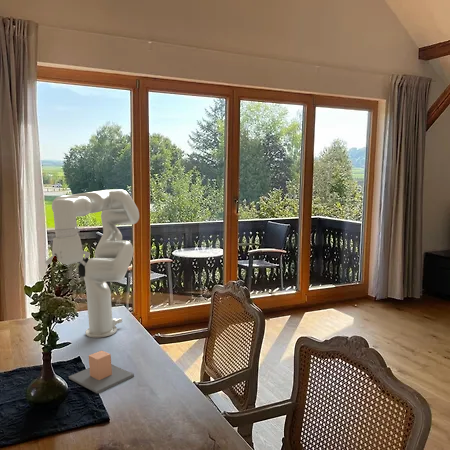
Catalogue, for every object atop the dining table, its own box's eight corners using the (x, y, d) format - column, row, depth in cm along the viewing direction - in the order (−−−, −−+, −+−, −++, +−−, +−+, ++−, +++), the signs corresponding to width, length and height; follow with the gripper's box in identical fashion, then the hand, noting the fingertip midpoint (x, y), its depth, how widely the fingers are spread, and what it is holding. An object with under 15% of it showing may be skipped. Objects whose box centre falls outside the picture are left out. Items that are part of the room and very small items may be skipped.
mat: (105, 363, 158) (105, 361, 158) (133, 376, 148) (133, 373, 148) (68, 378, 148) (68, 376, 148) (97, 393, 137) (97, 391, 137)
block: (103, 370, 151) (101, 350, 150) (112, 374, 148) (110, 354, 147) (90, 375, 147) (88, 355, 146) (98, 380, 144) (97, 359, 143)
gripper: (81, 228, 171) (85, 272, 173) (38, 235, 158) (42, 283, 160) (93, 230, 166) (96, 275, 169) (49, 237, 153) (53, 286, 155)
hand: (70, 279), depth 164 cm, fingers open, 9 cm apart
